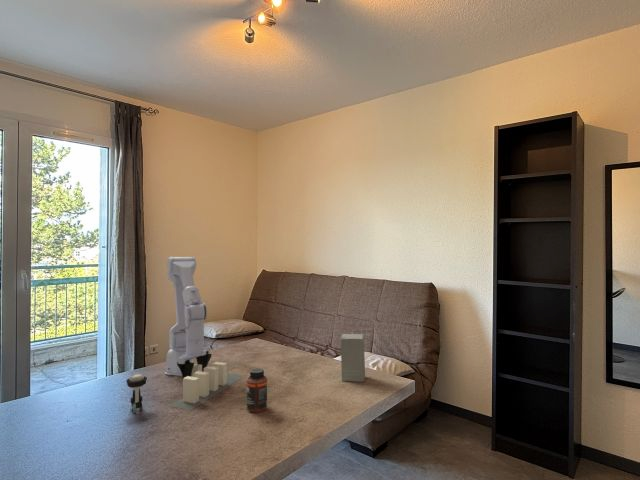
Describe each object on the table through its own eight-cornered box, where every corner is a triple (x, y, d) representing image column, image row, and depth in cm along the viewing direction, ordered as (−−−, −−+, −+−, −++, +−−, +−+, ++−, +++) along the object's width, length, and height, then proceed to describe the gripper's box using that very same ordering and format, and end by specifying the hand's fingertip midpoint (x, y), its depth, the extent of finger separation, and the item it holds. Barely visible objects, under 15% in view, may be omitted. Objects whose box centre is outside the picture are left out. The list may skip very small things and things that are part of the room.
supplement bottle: (270, 406, 109) (271, 368, 109) (261, 414, 103) (261, 374, 104) (253, 403, 111) (253, 365, 111) (242, 411, 105) (243, 372, 105)
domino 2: (187, 385, 125) (187, 365, 125) (191, 383, 127) (191, 363, 127) (198, 387, 123) (198, 366, 123) (201, 385, 125) (202, 364, 125)
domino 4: (203, 389, 120) (203, 368, 120) (207, 387, 122) (207, 366, 122) (214, 391, 119) (214, 369, 119) (218, 388, 121) (218, 367, 121)
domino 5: (212, 384, 125) (212, 363, 125) (215, 382, 127) (216, 361, 127) (223, 385, 124) (223, 364, 124) (226, 383, 125) (227, 363, 126)
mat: (168, 407, 108) (168, 406, 108) (226, 374, 136) (226, 373, 136) (191, 411, 105) (191, 410, 105) (244, 376, 133) (244, 375, 133)
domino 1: (182, 401, 111) (183, 378, 111) (187, 398, 113) (187, 376, 113) (194, 403, 109) (195, 380, 109) (199, 400, 111) (199, 377, 111)
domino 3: (193, 395, 116) (193, 373, 116) (197, 392, 117) (197, 371, 118) (205, 397, 114) (205, 374, 114) (209, 394, 116) (209, 372, 116)
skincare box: (365, 376, 134) (365, 333, 135) (364, 383, 127) (364, 338, 128) (342, 375, 136) (342, 332, 136) (340, 382, 129) (340, 337, 129)
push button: (148, 413, 104) (148, 378, 104) (126, 418, 101) (127, 381, 101) (145, 404, 109) (145, 371, 110) (125, 408, 107) (125, 374, 107)
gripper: (190, 345, 117) (190, 387, 117) (217, 335, 131) (217, 373, 130) (173, 343, 119) (172, 385, 119) (200, 333, 133) (200, 371, 133)
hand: (194, 378), depth 125 cm, fingers open, 7 cm apart
